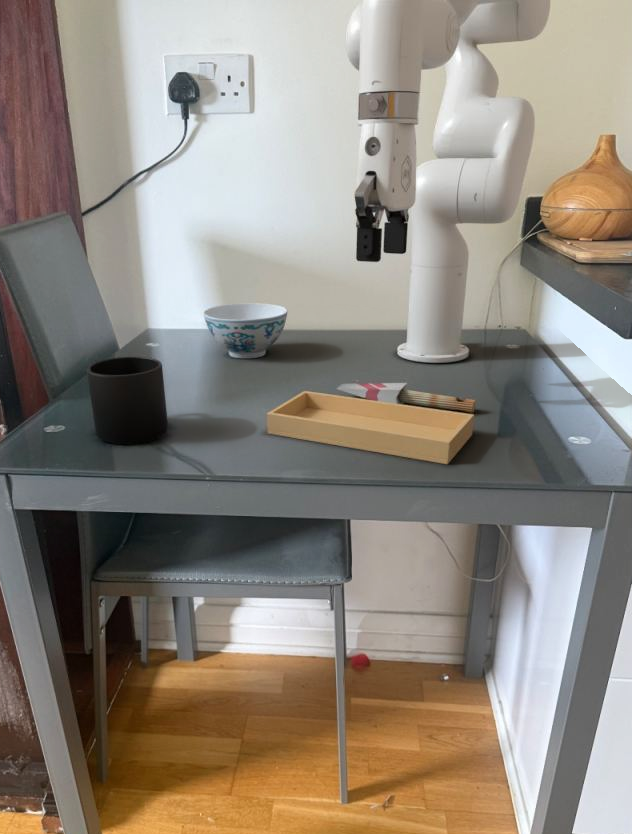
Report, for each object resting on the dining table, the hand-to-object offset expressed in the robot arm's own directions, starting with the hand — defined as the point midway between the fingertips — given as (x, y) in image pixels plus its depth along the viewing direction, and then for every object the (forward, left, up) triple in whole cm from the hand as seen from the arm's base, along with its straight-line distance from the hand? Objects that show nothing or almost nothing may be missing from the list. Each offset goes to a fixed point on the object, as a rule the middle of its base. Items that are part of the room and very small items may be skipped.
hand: (381, 257), depth 96 cm
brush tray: (+13, +4, -20) cm, 25 cm away
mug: (+25, -25, -20) cm, 41 cm away
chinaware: (-16, -32, -20) cm, 41 cm away
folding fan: (0, +4, -20) cm, 21 cm away
